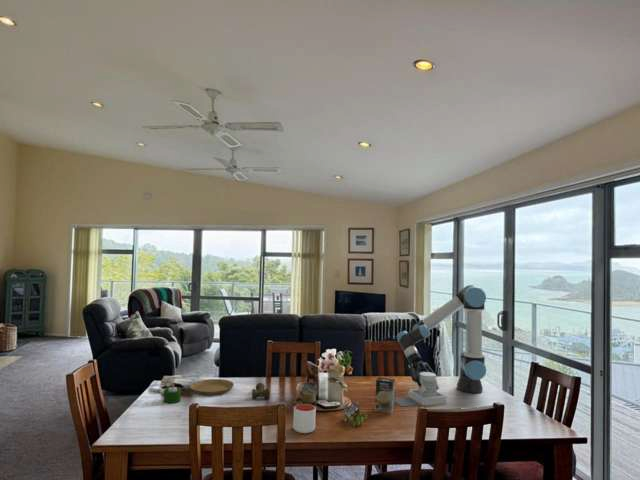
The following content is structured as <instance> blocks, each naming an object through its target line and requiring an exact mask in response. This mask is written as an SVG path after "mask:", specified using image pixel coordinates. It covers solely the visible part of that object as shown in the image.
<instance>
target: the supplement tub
mask: <svg viewBox="0 0 640 480" xmlns="http://www.w3.org/2000/svg"><path fill="white" fill-rule="evenodd" d="M436 375H437V374H436V373H435V374H434V373H431V372H423V371H419V380H420V379H421V381H422V383H423V385H424V387H425V389H426V391H425V392H424V393H423V392H422V390H421V388H420V387H419V386H418V389H419V395H420V396H422V397H423V398H426V397H436V391H437V390H436V381H437V376H436Z"/></svg>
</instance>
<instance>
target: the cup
mask: <svg viewBox="0 0 640 480" xmlns="http://www.w3.org/2000/svg"><path fill="white" fill-rule="evenodd" d="M316 410H317V407H316V406H315V405H313V404H309V403H300V404H295V406H294V407H293V423H292V425H293V426H292V428H293V430H294V431H295V432H297V433H299V434H308V433H309V434H310V433H312V432H314V431H315V429H316V415H317V414H316V413H317V411H316Z"/></svg>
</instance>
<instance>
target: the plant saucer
mask: <svg viewBox="0 0 640 480" xmlns="http://www.w3.org/2000/svg"><path fill="white" fill-rule="evenodd" d="M234 385H235V384H234V382H232V381H230V380H228V379H221V378H220V379H219V378H212V379H211V378H210V379H203V380H199V381H195V382H193V383H192V384H191V385H190V388H191V390H192V391H193V393H195V394H197V395H199V396H200V395H201V396H208V397H211V396H219V395H224V394H226V393H228V392H230V391H231V390H232V389H233V387H234Z"/></svg>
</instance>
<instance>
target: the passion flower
mask: <svg viewBox="0 0 640 480" xmlns="http://www.w3.org/2000/svg"><path fill="white" fill-rule="evenodd" d="M359 404H360V401H357V402H353V403H351V404H350V402H347V403H346V404H345V405H344V407H343V408H342V409H343V410H345V409H346V410H345V411H344V412H343V417H344V422H345V423H346V422H348V420H349V419H351V421H352V426H353V427H354V428H356V425H357V426H358V427H359V426H360V425H362V424H363V422H364V420H367V418H368V414H367V413H365V414H362V413H361V412H360V406H359Z"/></svg>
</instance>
